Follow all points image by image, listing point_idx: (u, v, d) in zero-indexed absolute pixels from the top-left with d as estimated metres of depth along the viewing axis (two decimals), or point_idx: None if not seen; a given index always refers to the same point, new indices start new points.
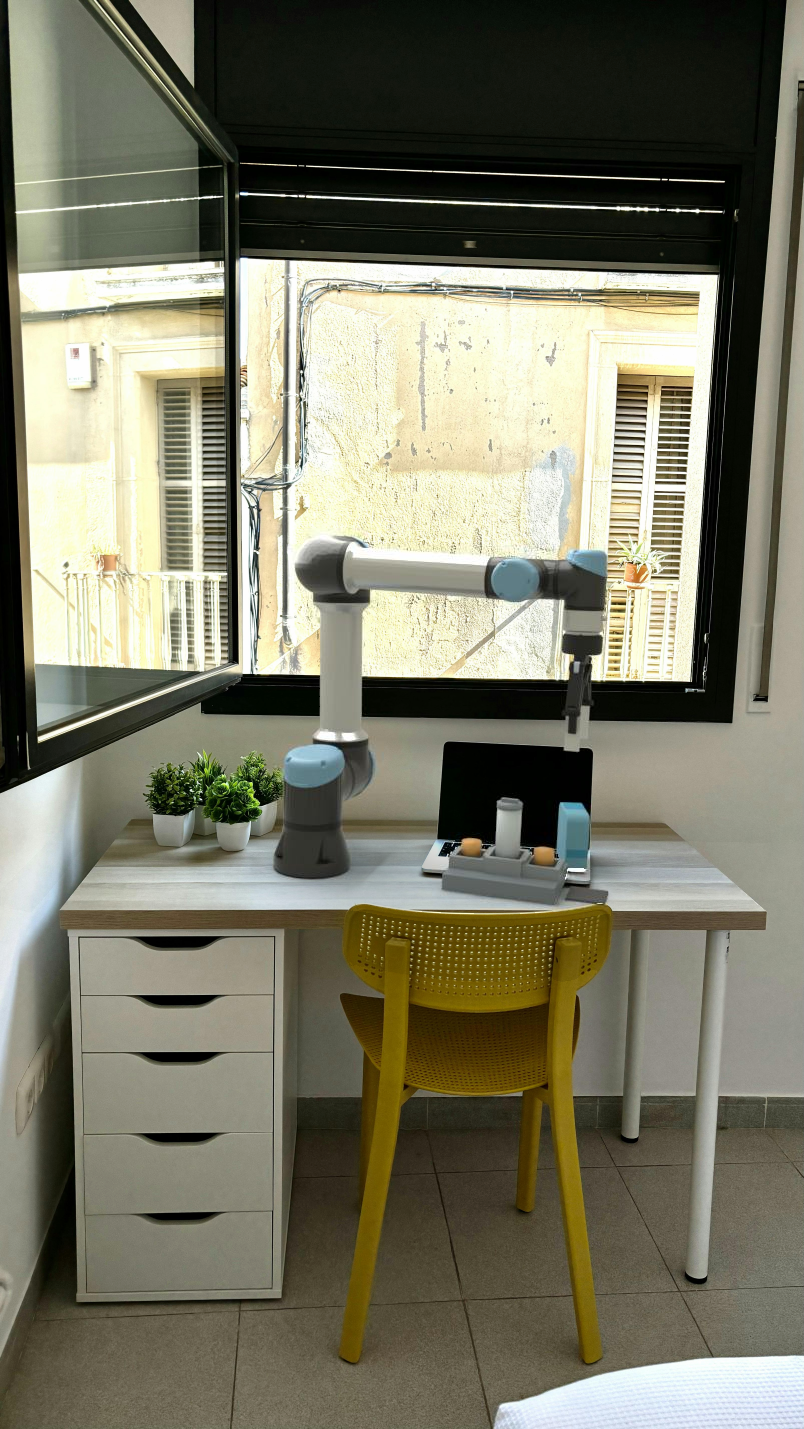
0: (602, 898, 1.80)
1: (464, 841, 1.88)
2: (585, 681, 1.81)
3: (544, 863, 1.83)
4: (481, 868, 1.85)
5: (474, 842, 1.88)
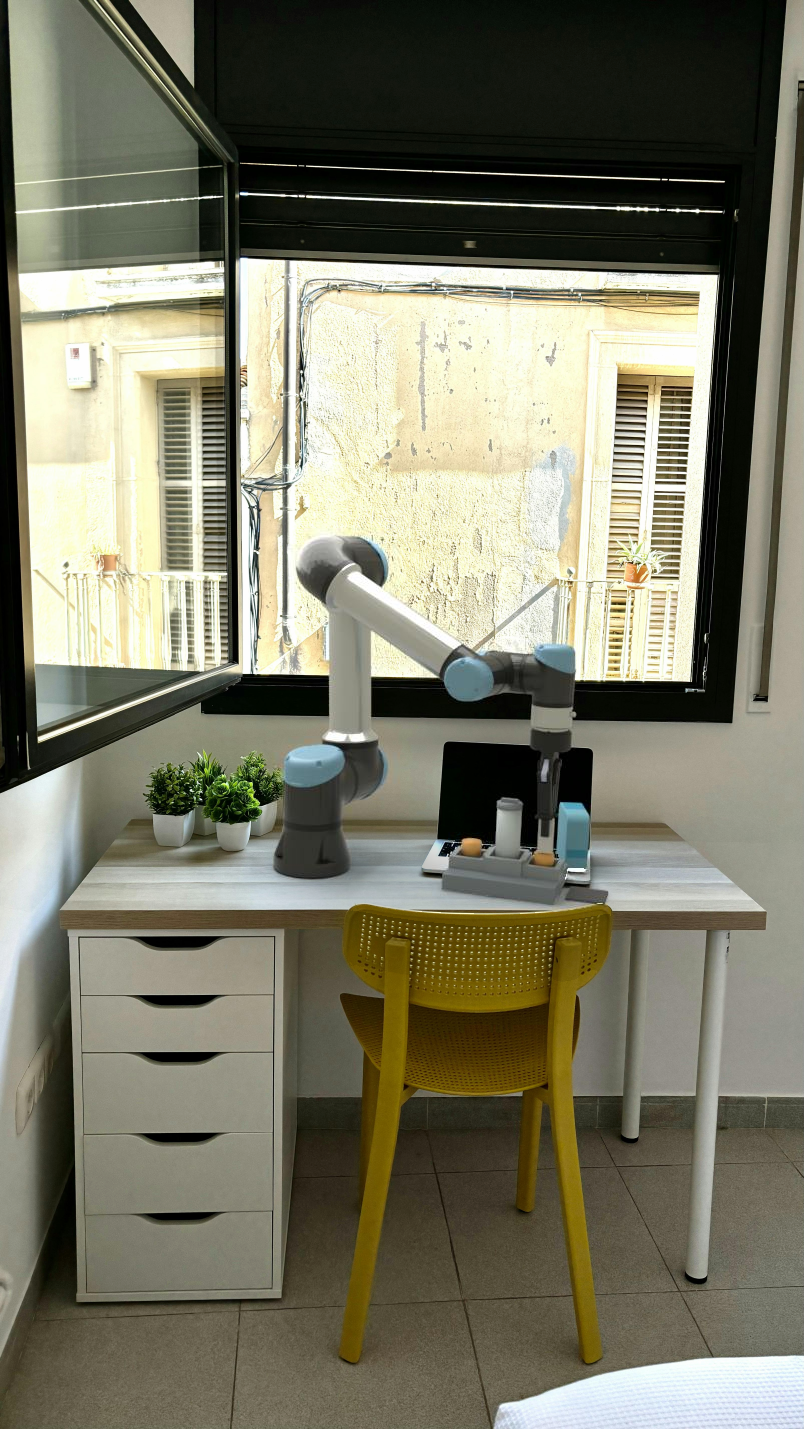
0: (602, 898, 1.80)
1: (464, 841, 1.88)
2: (554, 783, 1.80)
3: None
4: (481, 868, 1.85)
5: (474, 842, 1.88)
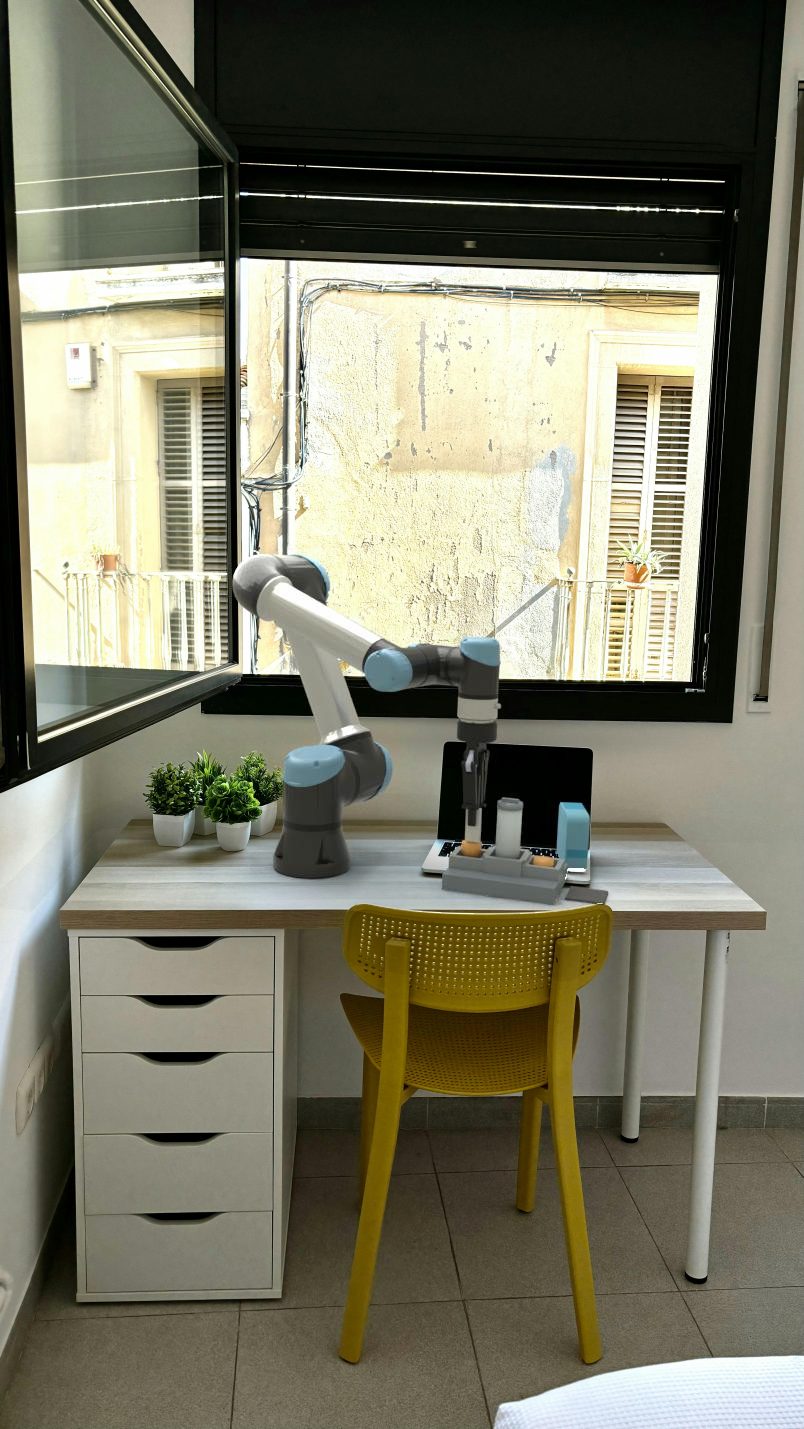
0: (602, 898, 1.80)
1: (464, 842, 1.88)
2: (480, 773, 1.84)
3: None
4: (481, 868, 1.85)
5: (474, 843, 1.88)
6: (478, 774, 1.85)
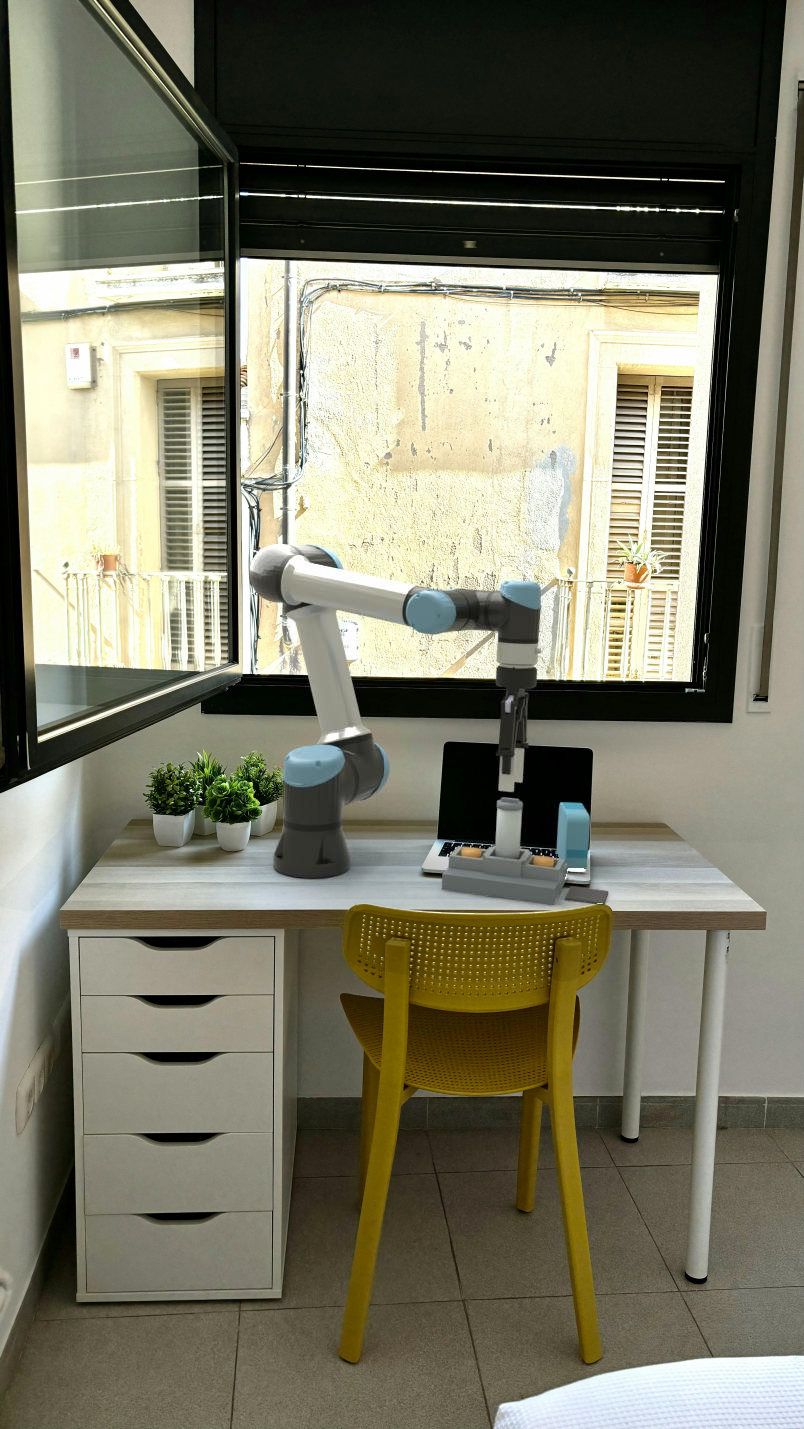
0: (602, 898, 1.80)
1: (464, 850, 1.89)
2: (518, 718, 1.79)
3: None
4: (481, 868, 1.85)
5: (474, 851, 1.88)
6: (516, 719, 1.79)
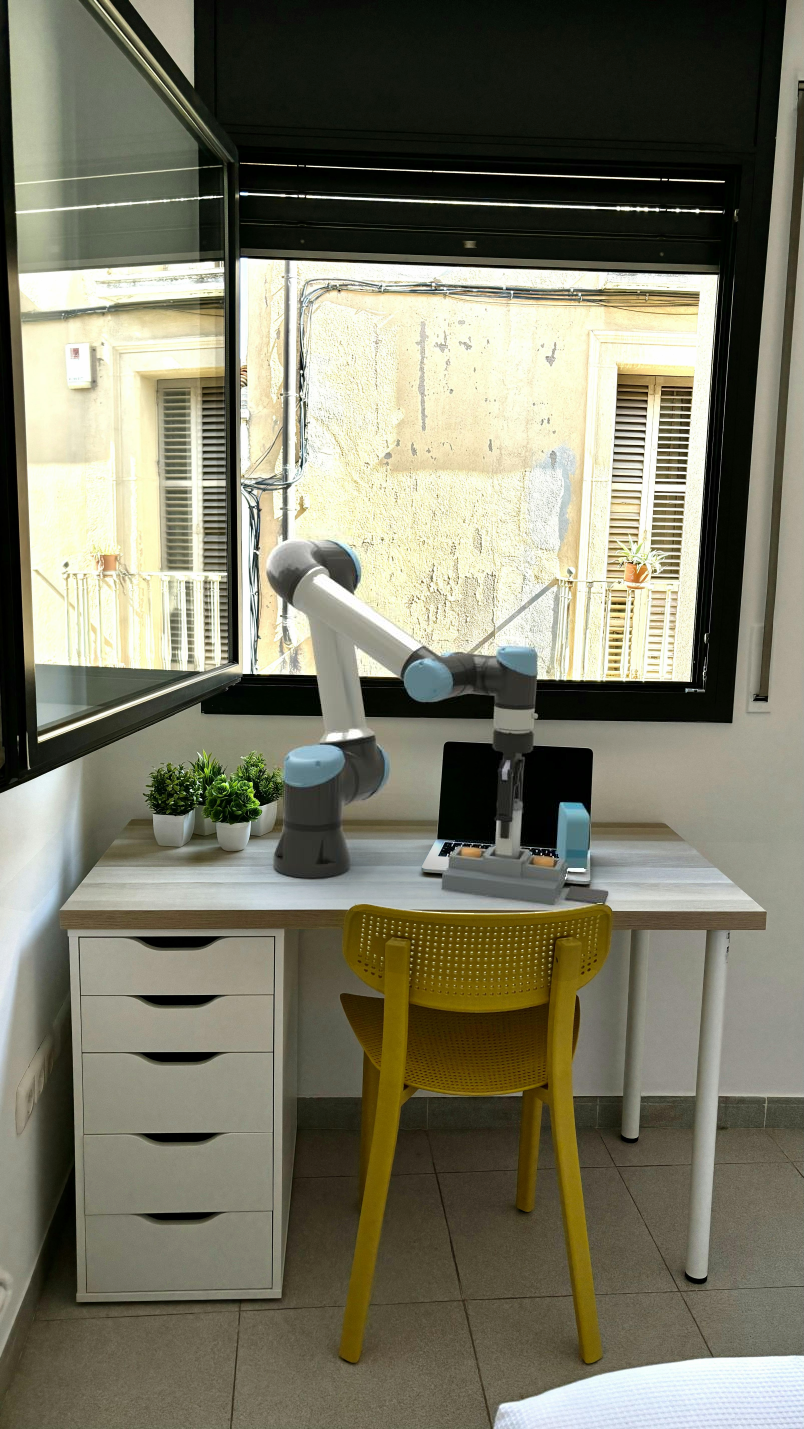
0: (602, 898, 1.80)
1: (464, 850, 1.89)
2: (516, 783, 1.82)
3: None
4: (481, 868, 1.85)
5: (474, 851, 1.88)
6: (513, 784, 1.82)
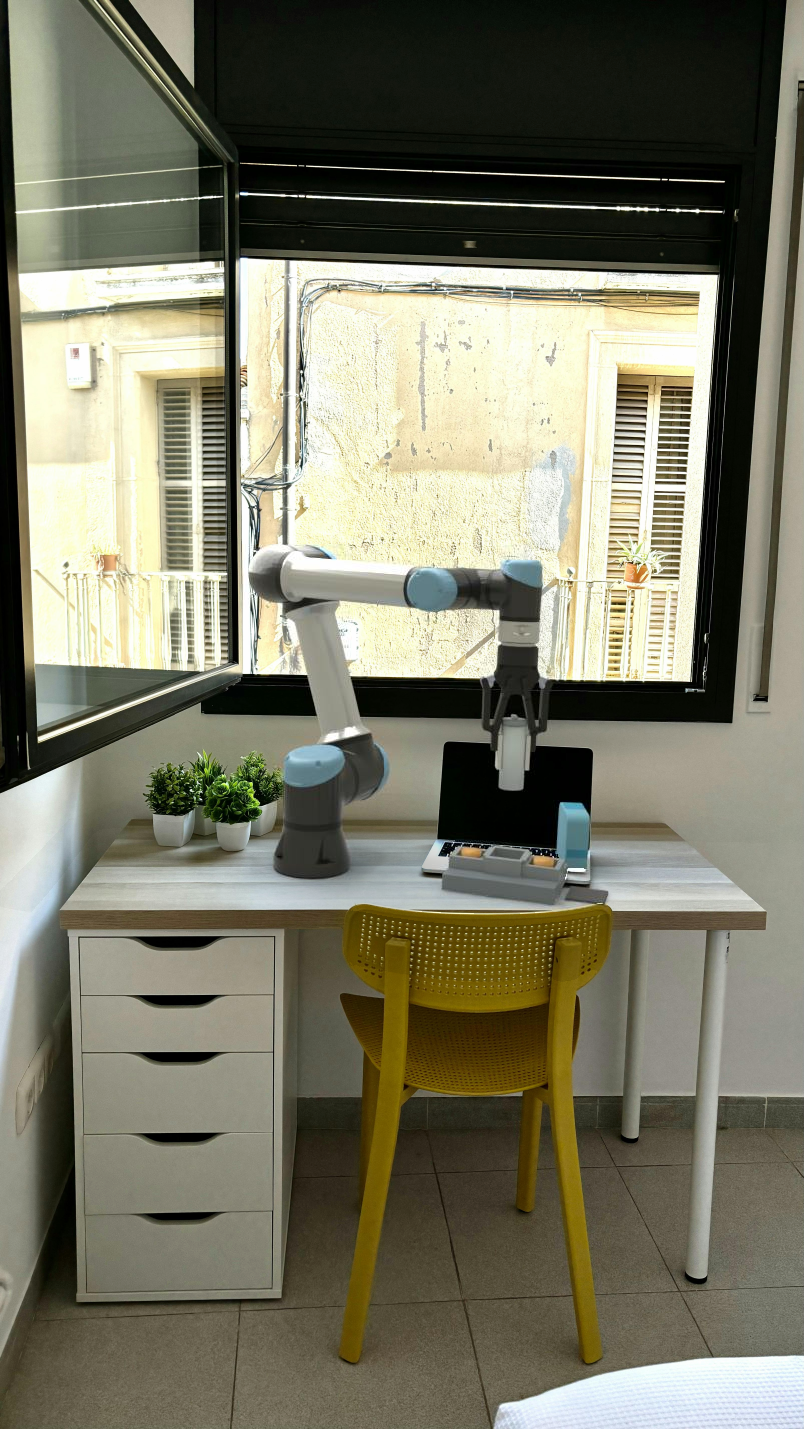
0: (602, 898, 1.80)
1: (464, 850, 1.89)
2: (502, 696, 1.81)
3: None
4: (481, 868, 1.85)
5: (474, 851, 1.88)
6: (501, 697, 1.81)
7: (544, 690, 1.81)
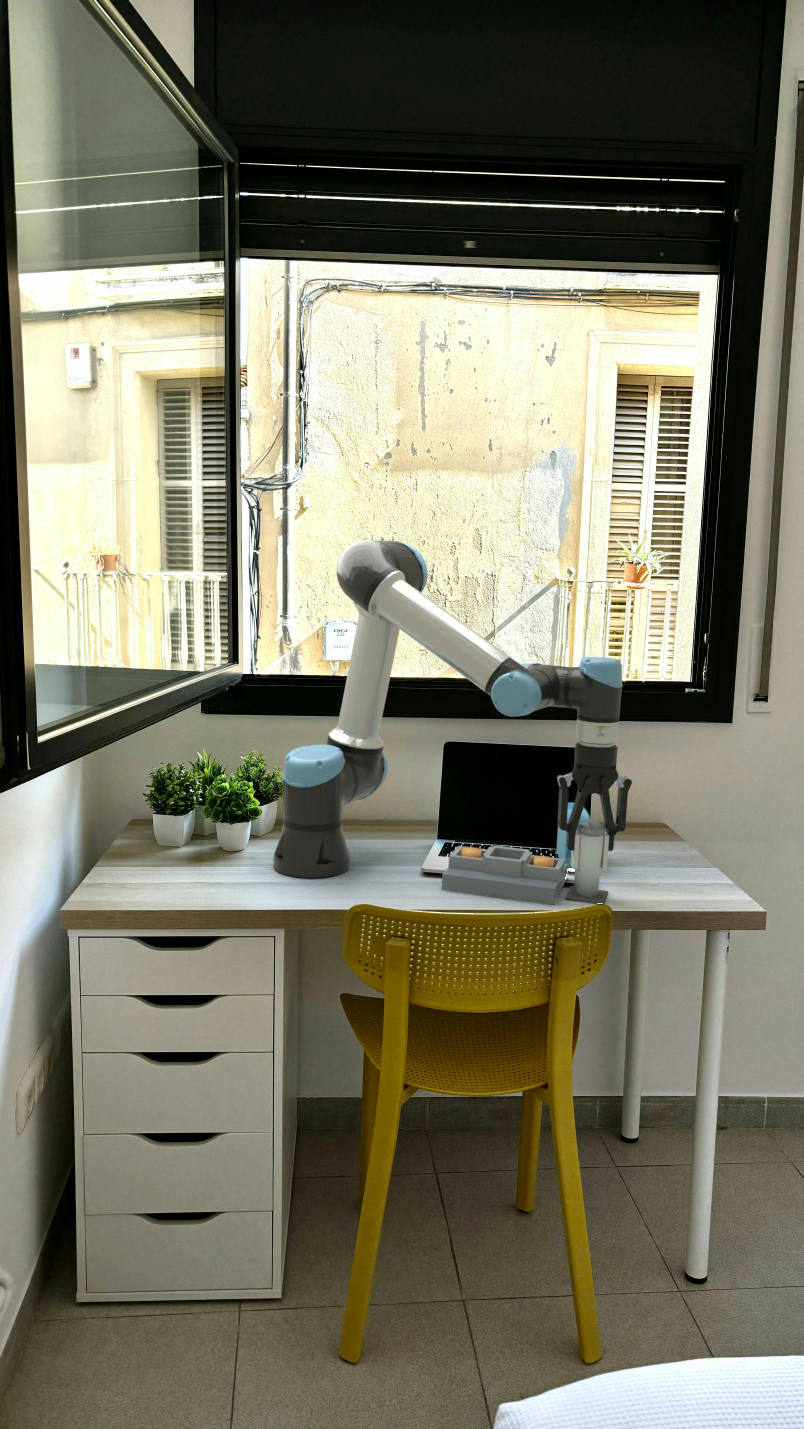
0: (602, 898, 1.80)
1: (464, 850, 1.89)
2: (580, 796, 1.78)
3: None
4: (481, 868, 1.85)
5: (474, 851, 1.88)
6: (579, 797, 1.78)
7: (623, 789, 1.78)
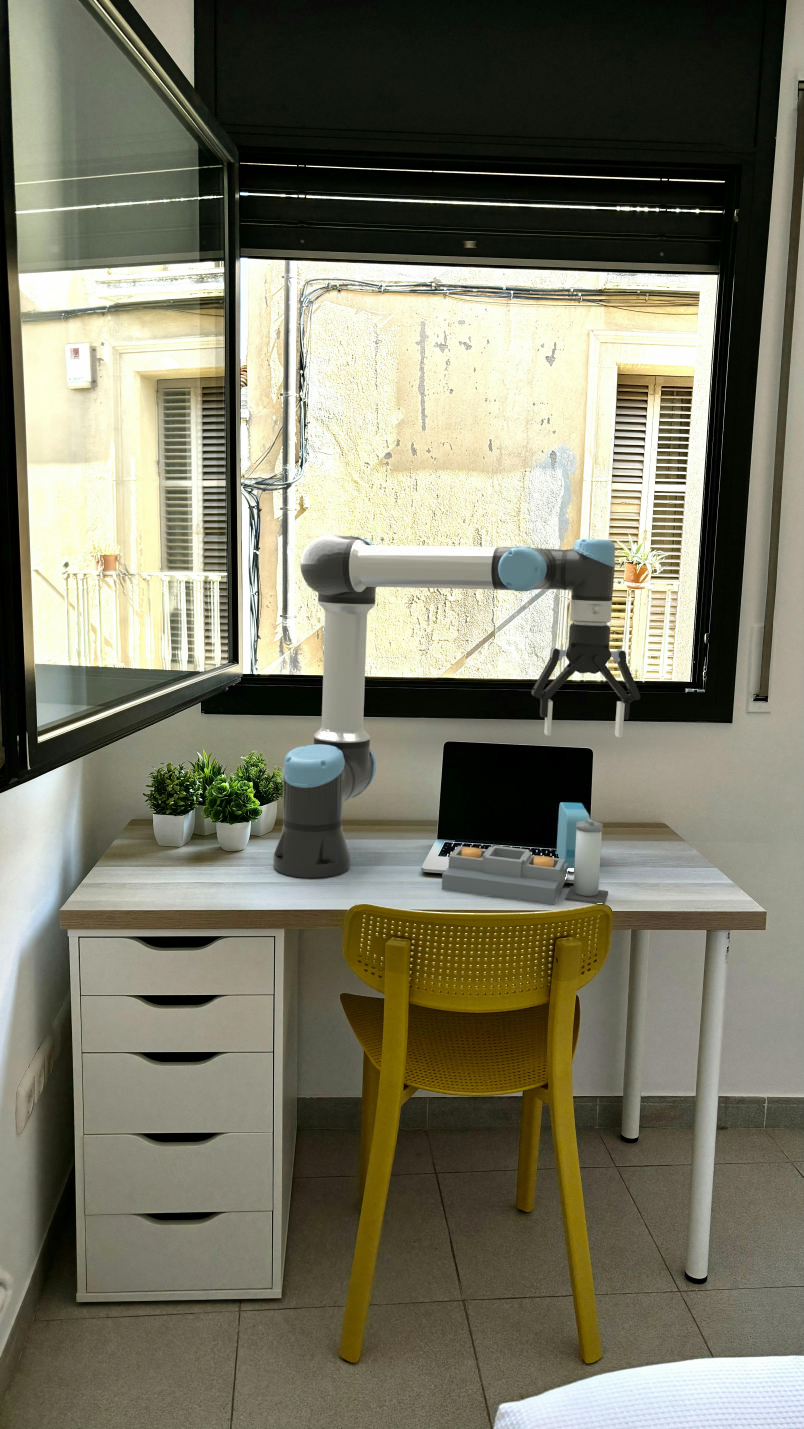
0: (602, 898, 1.80)
1: (464, 850, 1.89)
2: (568, 669, 1.83)
3: None
4: (481, 868, 1.85)
5: (474, 851, 1.88)
6: (566, 670, 1.83)
7: (621, 662, 1.83)
